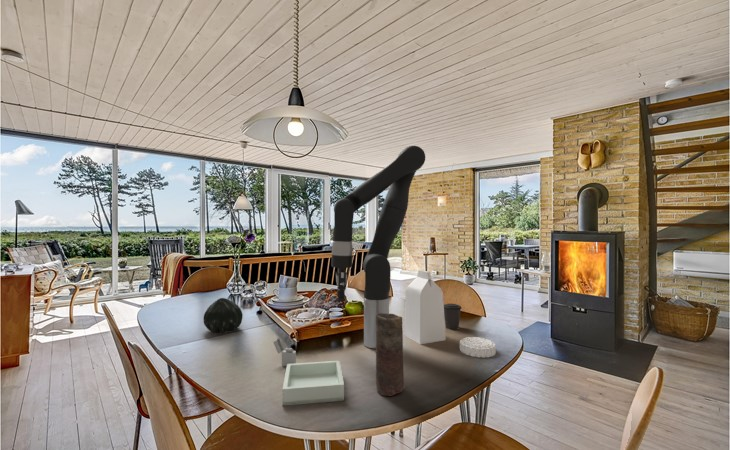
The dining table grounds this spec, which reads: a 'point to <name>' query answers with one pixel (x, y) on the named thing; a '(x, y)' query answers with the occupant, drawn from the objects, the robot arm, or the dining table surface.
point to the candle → (389, 354)
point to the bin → (313, 383)
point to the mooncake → (477, 347)
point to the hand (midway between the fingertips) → (340, 298)
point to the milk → (424, 310)
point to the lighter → (285, 353)
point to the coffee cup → (452, 316)
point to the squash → (223, 316)
